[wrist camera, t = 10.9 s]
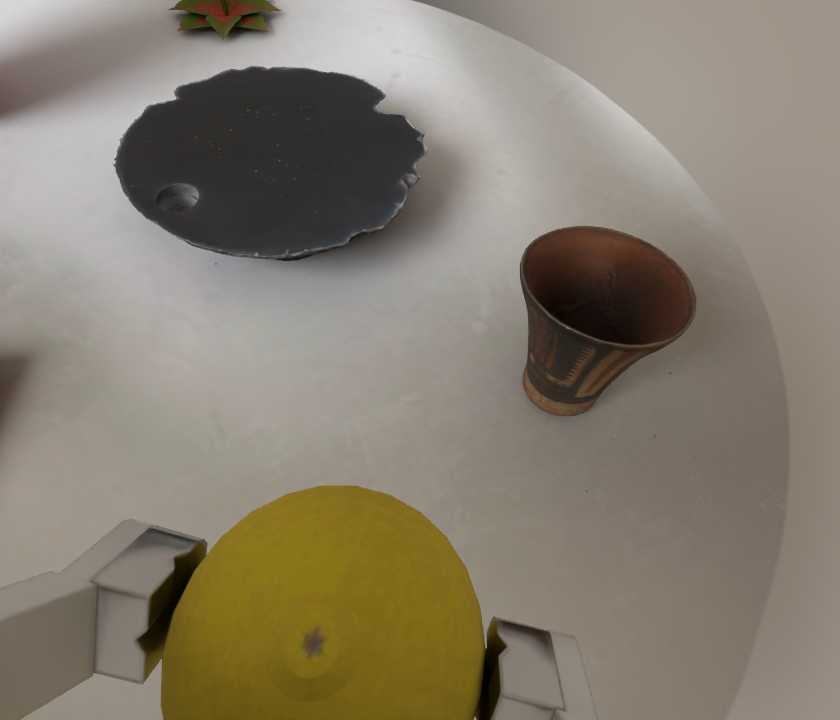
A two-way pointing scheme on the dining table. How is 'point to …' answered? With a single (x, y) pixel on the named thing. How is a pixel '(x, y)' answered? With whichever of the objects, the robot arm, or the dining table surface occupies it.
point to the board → (270, 162)
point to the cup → (596, 312)
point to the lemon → (327, 617)
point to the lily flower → (223, 14)
